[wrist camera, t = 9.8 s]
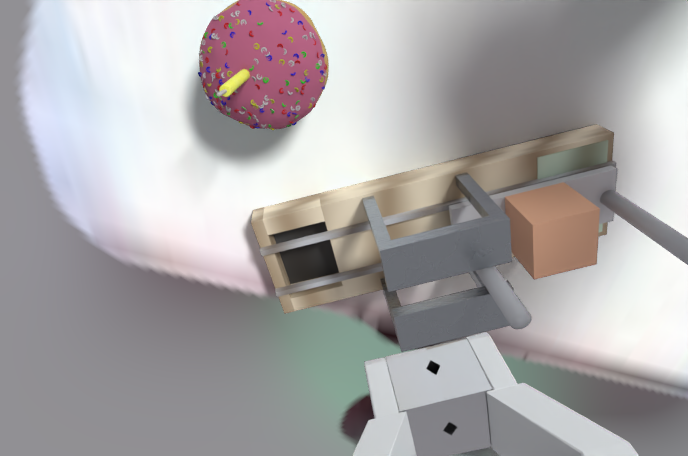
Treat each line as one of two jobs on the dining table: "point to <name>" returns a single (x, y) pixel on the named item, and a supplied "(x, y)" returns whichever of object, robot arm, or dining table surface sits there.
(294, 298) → the board
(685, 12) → the dining table surface
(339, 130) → the dining table surface
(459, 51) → the dining table surface
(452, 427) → the robot arm
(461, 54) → the dining table surface
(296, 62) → the cupcake
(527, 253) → the sled
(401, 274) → the tunnel
